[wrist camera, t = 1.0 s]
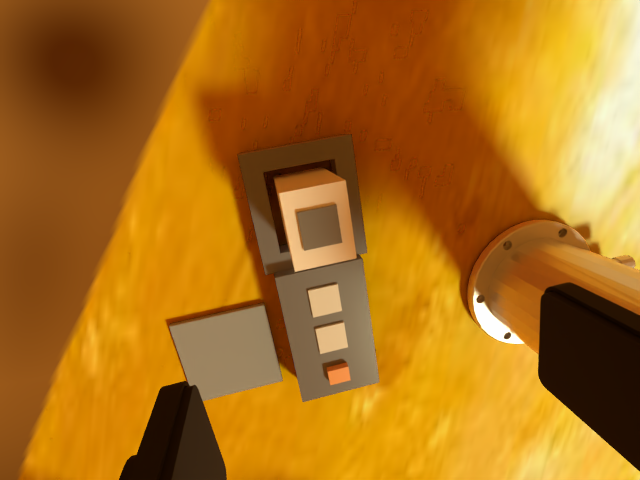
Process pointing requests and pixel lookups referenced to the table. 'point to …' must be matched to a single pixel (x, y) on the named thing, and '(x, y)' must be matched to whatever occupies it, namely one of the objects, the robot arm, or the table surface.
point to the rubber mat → (227, 351)
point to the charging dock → (317, 277)
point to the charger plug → (315, 217)
